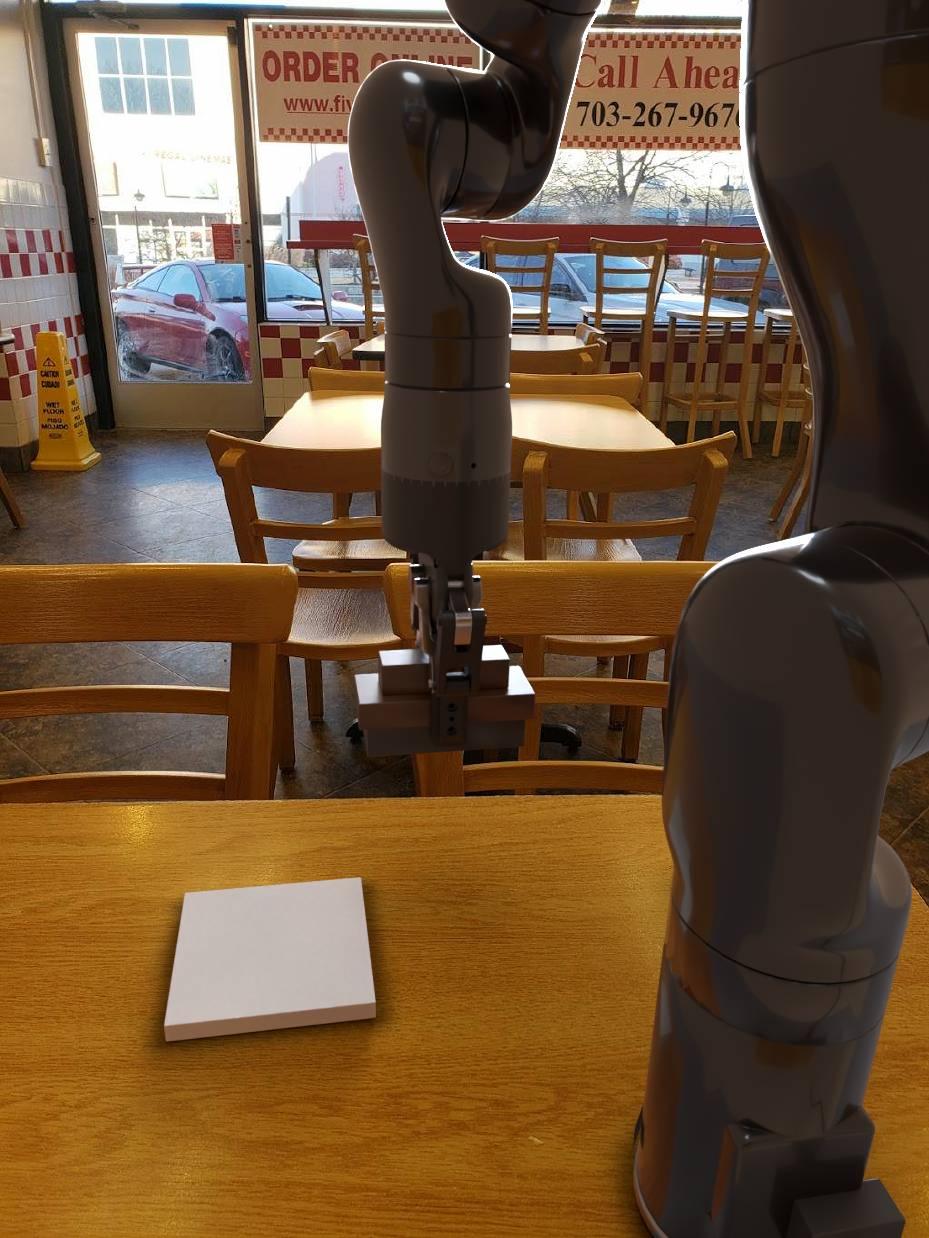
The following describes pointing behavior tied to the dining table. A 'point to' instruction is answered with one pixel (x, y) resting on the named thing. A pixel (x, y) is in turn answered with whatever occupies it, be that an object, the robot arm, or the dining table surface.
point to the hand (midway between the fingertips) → (441, 723)
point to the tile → (270, 959)
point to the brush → (402, 704)
